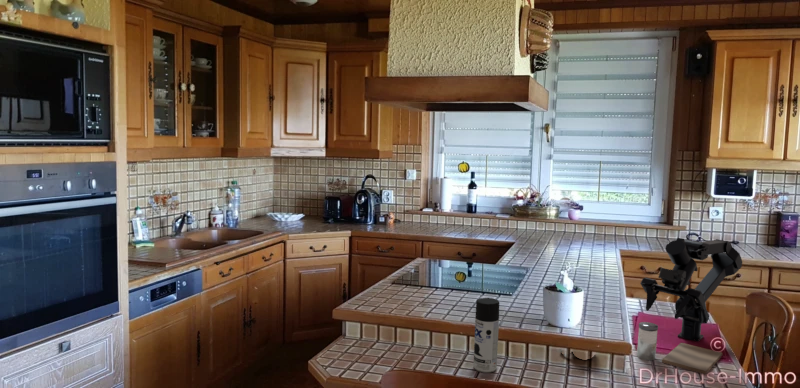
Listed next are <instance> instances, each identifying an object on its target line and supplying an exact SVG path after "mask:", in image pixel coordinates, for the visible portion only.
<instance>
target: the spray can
mask: <svg viewBox="0 0 800 388" xmlns="http://www.w3.org/2000/svg"><path fill="white" fill-rule="evenodd" d="M474 316H475V319H474V341H473V342H474V345H473V347H474V348H473V365H472V366H473V368H474V370H475V371H477V372H480V373H484V374H489V373H494V372H496V370H497V367H498V350H499V348H498V347H499V344H498V343H499V327H500V325H499V324H500V301H499V300H498V299H496V298H492V297H482V298H478V299H476V303H475V315H474Z"/></svg>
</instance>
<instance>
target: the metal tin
mask: <svg viewBox="0 0 800 388" xmlns="http://www.w3.org/2000/svg"><path fill="white" fill-rule="evenodd" d="M658 330H659V325H658V324H656V323H654V322H649V321H641V322H639V323H638V334H637V336H638V337H637V349H636V350H637V351H636V356H637V358H639V359H640V360H644V361H654V360H656V352H657V343H658V342H657V341H658Z"/></svg>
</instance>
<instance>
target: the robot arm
mask: <svg viewBox="0 0 800 388" xmlns="http://www.w3.org/2000/svg"><path fill="white" fill-rule="evenodd" d="M665 252H666V253H667V255H668V257H669V258H670V261H671V263H673V264H674V266H673V268H672V269H669V268H664V267H661V268H660V271H659V274H658V278H659V279H662V280H661V283H662V284H663V285H662V284H658V282H657V280H656V279H653V278H649V277H644V278H642V279H641V281H640V285H641V287H642V289H643V291H644V292H645V293H646V300H645V302H646V303H645V310H646V311H647V312H648V311H650V309H651V308H652V307H653V304H654V303H655V302H656V300H657V298H658V295H659V293H660V292H661V293H666V294H669V295H673V296H675V297H676V296H677V297H679V298H678V299H677V300H676V301H675V304H674V307H675V308H674V309H675V315H674V319H675V320H677V319H679V318H681V319H682V321H681V332H680V333H679V334H677V337H678V338H681V339H686V340H689V341H693V342H696V343H697V342H700V340H702V339H703V338H704V334H701V332H702V325H703V324H708V322H709V320H710V314H709V312H708V310H707V305H706V304H707V300H708V299H709V298H710V297H711V296H712V294H714V292H715V291H716V290H717V288H718V287H719V286H720V284H721V283H722V282H723V281H724V279H725V278H727V277H730V276H734V275H735V274H736V273H738V271H739V270H740V269H741V268H742V267H743V260H742V256H741V254H740V252H739V251H737V249H735V247H734V246H732V243H731V242H730V241H728V240H723V239H713V240H705V241H696V240H690V239H684V238H681V237H677V238H676V240H672V241H670V242H668V243H667V244H666V246H665ZM709 255H710V258H711V261H712V268H711V269H710V270H709V271H708V272H707V273H706V275H705V276H704V277H703V278H702V280H701V281H700V282H699V283H698V284H697V285H696V287H695V288H692V287H688V288H687V286H690V284H691V282H690V280H691V278H692V276H693V274H694V272H698V264H697V262H696V261H695V260H698V261H703V260H706V259H708V258H709ZM686 288H687V289H686Z"/></svg>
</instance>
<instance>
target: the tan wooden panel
mask: <svg viewBox="0 0 800 388" xmlns="http://www.w3.org/2000/svg"><path fill="white" fill-rule="evenodd" d="M721 356H722V357H723V352H721V351H717V350H716V351H715V350H712V349H709V348H704V347H700V346H696V345H693V344H688V343H684V342H680V343H679V344H678V345H676V347H674V348H673V349H672V350H671V351H670V352H669V353H667V354H666V355H665V356H664V357H663V358H662V359H661V363H663V364H667V365H669V366H670V365H671V366H674V367H677V368H681V369H684V370H689V371H692V372H696V373H699V374H703V375H706V374H708V372H709V371H710V370H711V369H712V368H713V367H714V366H715V364H717V363H718V361H719V360H720V359H721V358H722V357H721Z"/></svg>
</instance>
